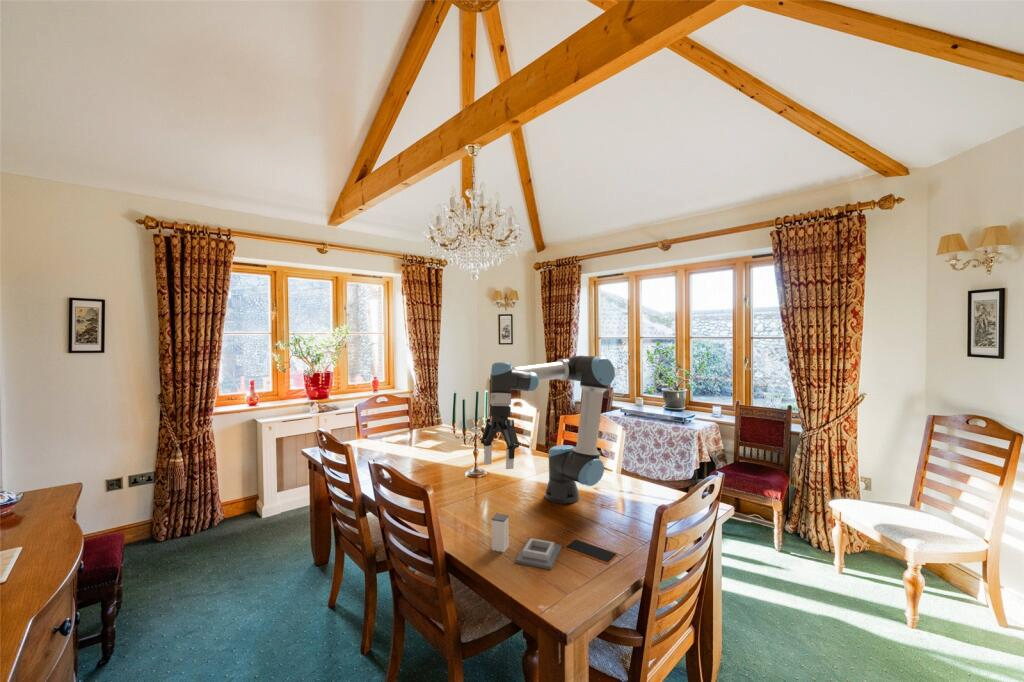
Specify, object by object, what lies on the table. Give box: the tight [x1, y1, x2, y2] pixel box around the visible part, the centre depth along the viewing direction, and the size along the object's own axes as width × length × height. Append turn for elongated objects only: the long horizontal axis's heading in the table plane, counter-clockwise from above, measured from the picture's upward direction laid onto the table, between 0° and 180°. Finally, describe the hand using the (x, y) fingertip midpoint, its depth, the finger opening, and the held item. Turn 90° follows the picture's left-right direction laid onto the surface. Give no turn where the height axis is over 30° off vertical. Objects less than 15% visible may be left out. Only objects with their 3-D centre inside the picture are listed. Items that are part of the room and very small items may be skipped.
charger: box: [491, 512, 510, 553], centre depth 145 cm, size 4×4×11 cm
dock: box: [514, 537, 562, 570], centre depth 140 cm, size 14×12×3 cm
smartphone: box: [564, 538, 619, 565], centre depth 142 cm, size 8×17×1 cm, turn 51°
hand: (498, 466), depth 146 cm, fingers open, 13 cm apart
